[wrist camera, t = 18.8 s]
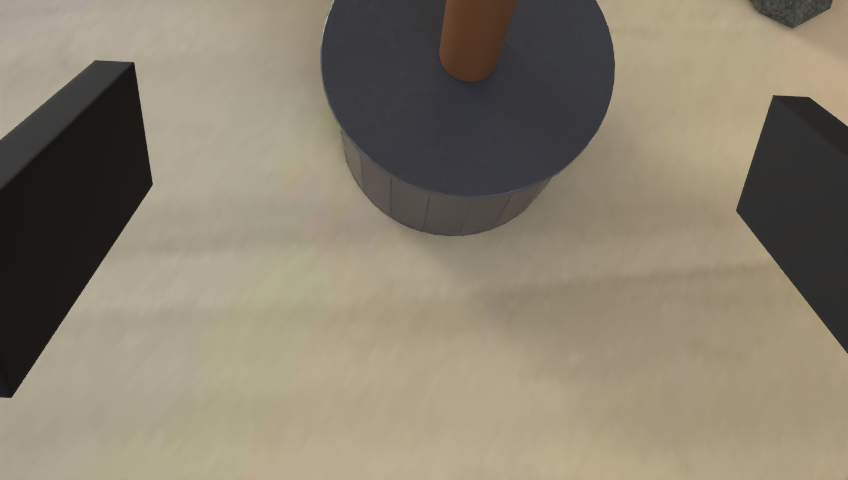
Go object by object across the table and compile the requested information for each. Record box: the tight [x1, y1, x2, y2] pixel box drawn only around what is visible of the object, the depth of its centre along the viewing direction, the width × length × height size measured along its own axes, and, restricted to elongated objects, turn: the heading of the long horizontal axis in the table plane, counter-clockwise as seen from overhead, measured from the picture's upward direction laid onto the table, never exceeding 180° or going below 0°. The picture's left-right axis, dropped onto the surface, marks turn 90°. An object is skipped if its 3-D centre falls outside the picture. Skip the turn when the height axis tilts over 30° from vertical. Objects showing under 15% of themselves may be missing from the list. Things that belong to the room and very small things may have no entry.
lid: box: [320, 0, 615, 200], centre depth 30 cm, size 14×14×10 cm
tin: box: [340, 128, 551, 236], centre depth 39 cm, size 13×13×9 cm
